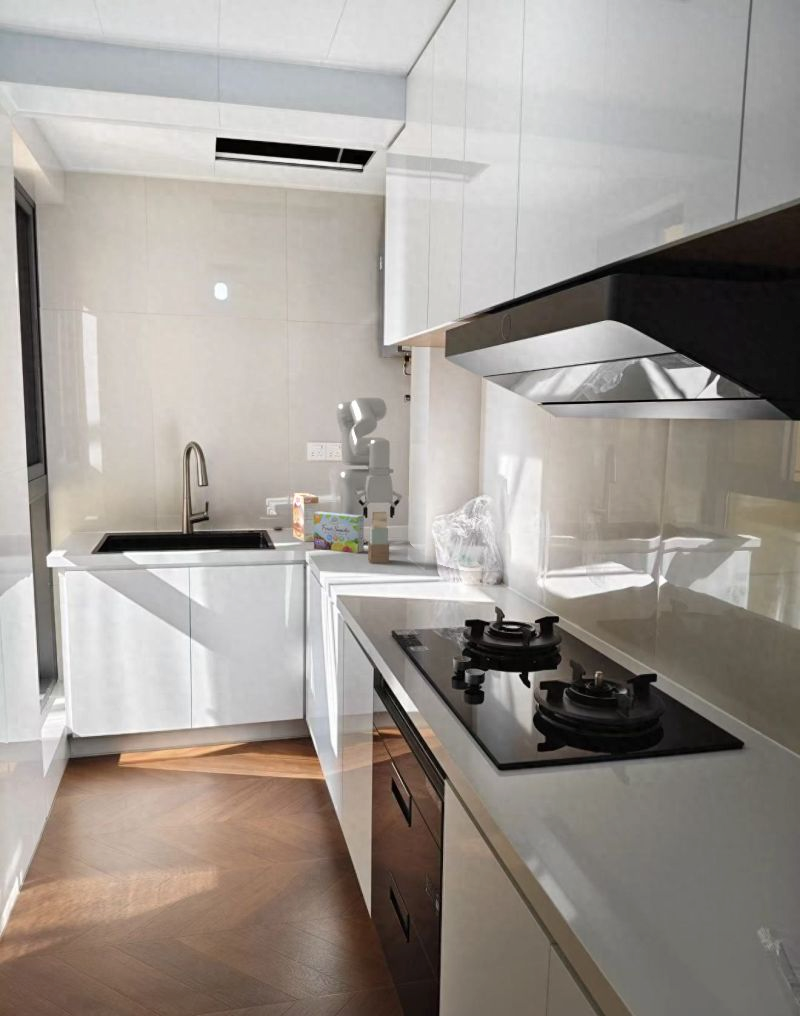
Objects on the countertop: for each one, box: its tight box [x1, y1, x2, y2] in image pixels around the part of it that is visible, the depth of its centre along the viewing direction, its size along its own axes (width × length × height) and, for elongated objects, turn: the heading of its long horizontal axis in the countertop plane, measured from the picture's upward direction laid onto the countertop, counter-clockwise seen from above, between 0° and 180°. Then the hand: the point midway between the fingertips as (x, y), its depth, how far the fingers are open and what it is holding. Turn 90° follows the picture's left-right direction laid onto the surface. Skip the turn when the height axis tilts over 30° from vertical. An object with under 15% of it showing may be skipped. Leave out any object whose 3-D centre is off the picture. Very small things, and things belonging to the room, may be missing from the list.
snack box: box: [313, 510, 365, 554], centre depth 339 cm, size 21×6×15 cm, turn 62°
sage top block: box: [369, 526, 389, 545], centre depth 315 cm, size 6×6×6 cm
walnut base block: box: [367, 541, 390, 564], centre depth 316 cm, size 7×7×7 cm
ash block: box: [371, 510, 388, 529], centre depth 314 cm, size 5×5×6 cm
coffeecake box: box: [292, 492, 319, 543], centre depth 365 cm, size 15×7×20 cm, turn 25°
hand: (378, 517), depth 314 cm, fingers open, 9 cm apart
